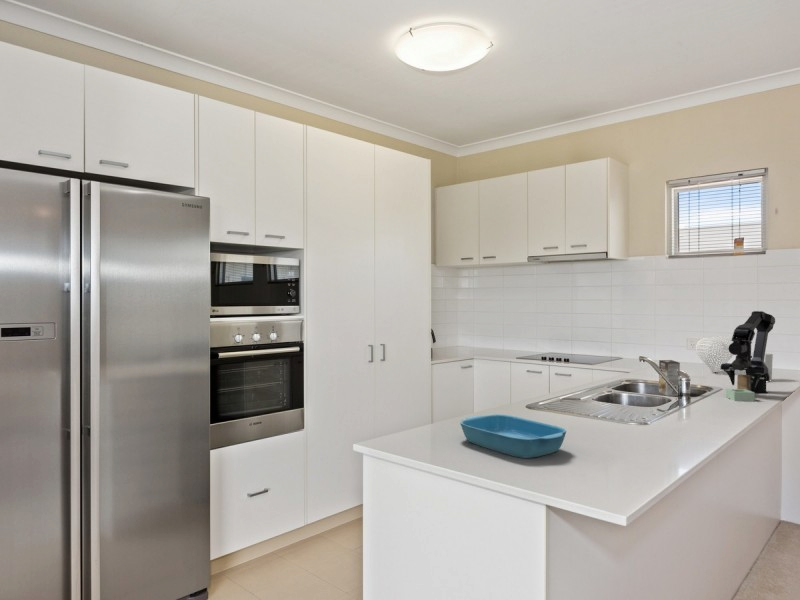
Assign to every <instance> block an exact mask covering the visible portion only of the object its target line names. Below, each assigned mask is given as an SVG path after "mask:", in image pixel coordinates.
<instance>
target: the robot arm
mask: <svg viewBox="0 0 800 600" xmlns="http://www.w3.org/2000/svg"><path fill="white" fill-rule="evenodd" d="M775 324H776V318H775V316H773V315H772V314H770V313H766V312H765V311H762V310H760V311H759V310H754V311H751V315H750V316H748V319H747V320H746V321H745V322H744V323H743V324H739V325H737V327H735V328H734V330H733V333H732V336H731V339H732V340H731V342H732V341H733V343H732V344H731V343H730V345H729V347H728V349H729V352H730V353H731V354H733V356H735V359H734V360H733V361H731V363H728V362H727V363H723V364H722V363H721V365H720V366H721V367H720V368H721V370H720V371H722V370H723V372H725V373H726V374H727V376H728V378H729V380H730V383H731V385H732V386H735V381H736V380H735V379H736V378H735V377H736V376H735V375H736V373H735V372H736V371H740V372H742V371H743V372H744V371H745V375H750V391H752V392H755V394H769V392H768V391H767V382H766V381H769V379H770V376H769V373H768V368H767V366H766V364H765V362H764V356H765V353H766V349H767V343H768V342H767V341H768V337H769V336H768V335H769V333H770V332H771V331H772V330H773V329H774V326H775ZM755 329H756V332H755ZM755 334H756V337H755ZM754 338H755V342H754V346H753V347H754V348H753V352H754V354H753V358H752V344H753V339H754ZM730 353H729V354H730ZM751 358H752V359H751Z"/></svg>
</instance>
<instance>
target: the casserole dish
mask: <svg viewBox="0 0 800 600" xmlns="http://www.w3.org/2000/svg"><path fill="white" fill-rule="evenodd" d="M459 424H460V426H461V429H462V432H463V435H464V437H465V439H466V440H467V441H468V442H470V443H472V444H474V445H475V446H476V445H477V446H479V447H482V448H486V449H488V450H493V451H495V452H498V453H501V454H505V455H508V456H511V457H516V458H522V459H533V458H538V457H541V456H542V457H543V456H547V455H549V454H550V455H551V454H553V453H555V452H557V451H558V450H559V449H560V448H561V447H562V445H563V443H564V440H565V438H566V433H567V429H565V428H564V427H560V426H557V425H552V424H548V423H545V422H541V421H536V420H532V419H527V418H524V417H518V416H513V415H509V414H484V415H483V414H481V415H474V416H468V417H465V419H462V420H461V421H460V422H459Z"/></svg>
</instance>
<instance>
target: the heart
mask: <svg viewBox="0 0 800 600" xmlns="http://www.w3.org/2000/svg"><path fill="white" fill-rule="evenodd" d="M731 340H732V338H730V337H728V336H726V335H725V336H724V335H720V336H714V337H712V336H710V337H709V336H708V337H707V336H706V337H703V338H701V339H699V340H698V341H697V342H696V345H695V352H696V354H697V356H698V357H699V359H701V360H702V362H703V363H704V364H705V365H706V367H707V368H709V370H710V371H711V372H712V373H713V372H718V373H720V372H721V371H722V370H721V364H723V363H728V362H729V361H730V360H731V359H732V357H733V356H734V355H733V354H731V353H730V352H729V349H728V348H729V345H730V344H732V343H733V341H731Z"/></svg>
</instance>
